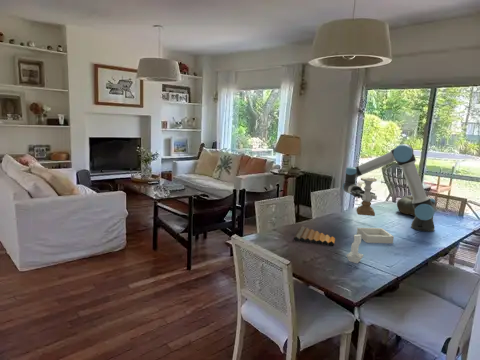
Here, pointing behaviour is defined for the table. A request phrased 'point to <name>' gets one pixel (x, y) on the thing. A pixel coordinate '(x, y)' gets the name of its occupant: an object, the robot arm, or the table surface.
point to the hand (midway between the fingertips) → (370, 197)
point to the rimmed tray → (375, 235)
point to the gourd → (406, 205)
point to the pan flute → (313, 237)
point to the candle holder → (365, 207)
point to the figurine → (355, 250)
